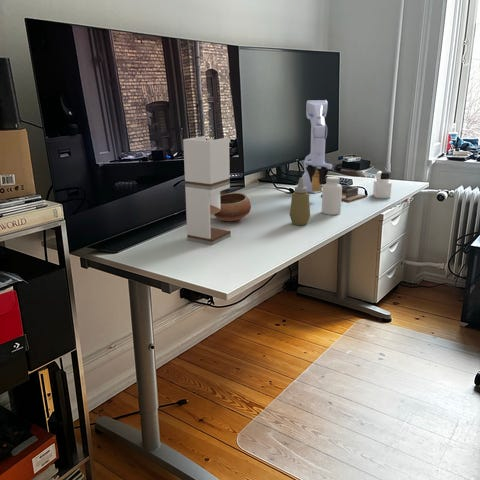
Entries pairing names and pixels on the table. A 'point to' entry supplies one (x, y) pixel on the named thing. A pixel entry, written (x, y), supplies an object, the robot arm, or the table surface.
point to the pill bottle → (331, 196)
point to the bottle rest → (350, 194)
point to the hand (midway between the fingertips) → (317, 182)
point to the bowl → (233, 207)
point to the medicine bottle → (382, 185)
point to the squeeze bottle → (300, 205)
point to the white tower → (205, 186)
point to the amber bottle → (316, 181)
